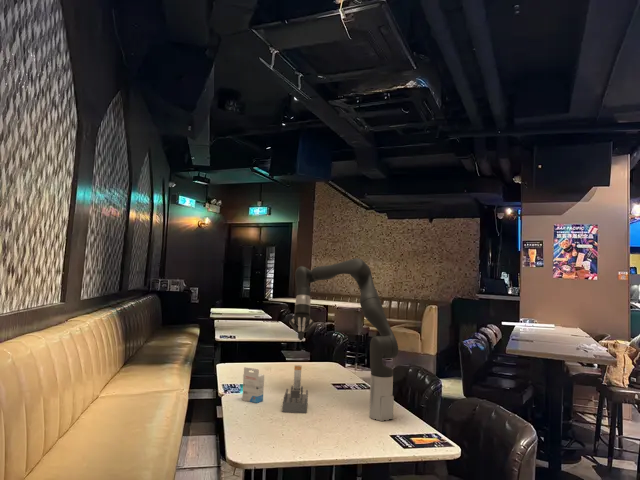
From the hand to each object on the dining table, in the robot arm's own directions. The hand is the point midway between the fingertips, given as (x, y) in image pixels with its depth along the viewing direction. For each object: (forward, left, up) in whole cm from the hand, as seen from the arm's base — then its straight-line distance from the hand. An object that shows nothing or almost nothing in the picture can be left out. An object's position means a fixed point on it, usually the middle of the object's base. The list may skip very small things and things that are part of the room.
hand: (300, 339), depth 224 cm
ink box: (-2, +24, -26) cm, 36 cm away
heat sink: (-18, +11, -26) cm, 34 cm away
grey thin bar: (-14, +8, -19) cm, 25 cm away
